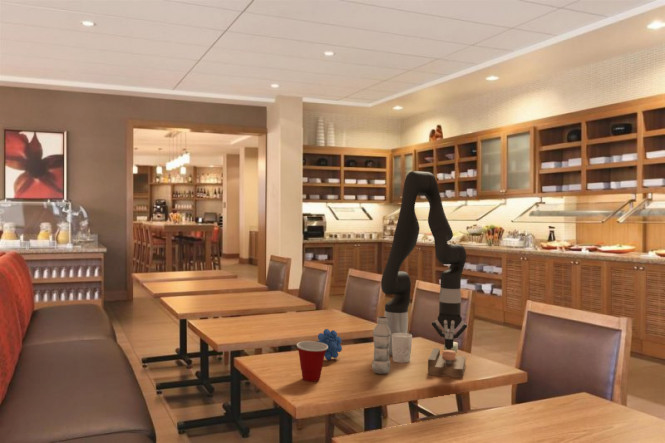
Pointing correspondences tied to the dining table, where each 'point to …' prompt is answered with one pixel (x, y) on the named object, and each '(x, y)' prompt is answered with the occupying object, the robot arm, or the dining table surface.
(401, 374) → the dining table surface
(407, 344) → the white cup
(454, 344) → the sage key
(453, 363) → the brown wooden block
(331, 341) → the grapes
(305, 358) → the plastic cup
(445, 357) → the peach rounded block
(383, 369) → the plastic bottle
